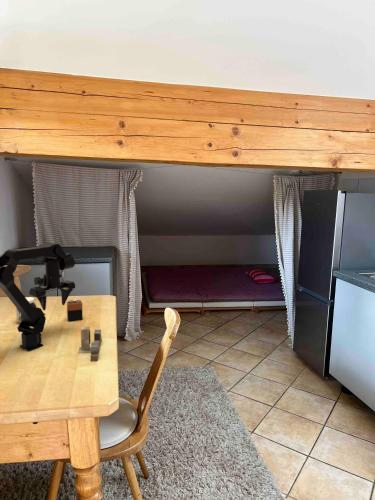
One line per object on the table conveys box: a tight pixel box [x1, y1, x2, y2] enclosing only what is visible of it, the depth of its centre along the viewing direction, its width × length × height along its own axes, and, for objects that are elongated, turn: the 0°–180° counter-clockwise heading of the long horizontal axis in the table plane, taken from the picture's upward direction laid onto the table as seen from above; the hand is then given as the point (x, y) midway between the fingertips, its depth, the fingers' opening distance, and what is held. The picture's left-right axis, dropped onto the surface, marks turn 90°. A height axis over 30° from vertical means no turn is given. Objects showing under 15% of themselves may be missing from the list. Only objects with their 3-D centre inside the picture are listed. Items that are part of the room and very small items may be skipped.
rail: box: [77, 328, 102, 362], centre depth 136 cm, size 20×8×5 cm, turn 10°
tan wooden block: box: [80, 326, 91, 351], centre depth 135 cm, size 3×3×9 cm
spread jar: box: [15, 296, 37, 325], centre depth 163 cm, size 12×11×12 cm
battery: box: [66, 299, 83, 322], centre depth 168 cm, size 4×7×10 cm, turn 116°
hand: (53, 307), depth 146 cm, fingers open, 9 cm apart
